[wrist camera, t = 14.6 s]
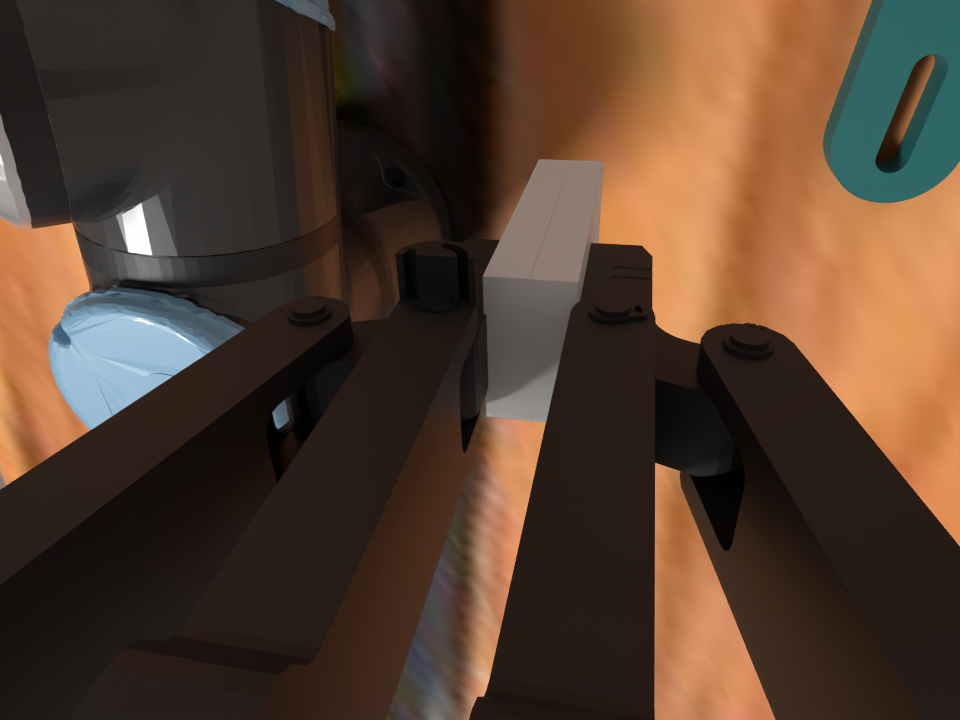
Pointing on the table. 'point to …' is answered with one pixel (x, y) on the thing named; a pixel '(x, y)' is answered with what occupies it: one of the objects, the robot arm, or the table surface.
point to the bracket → (876, 93)
